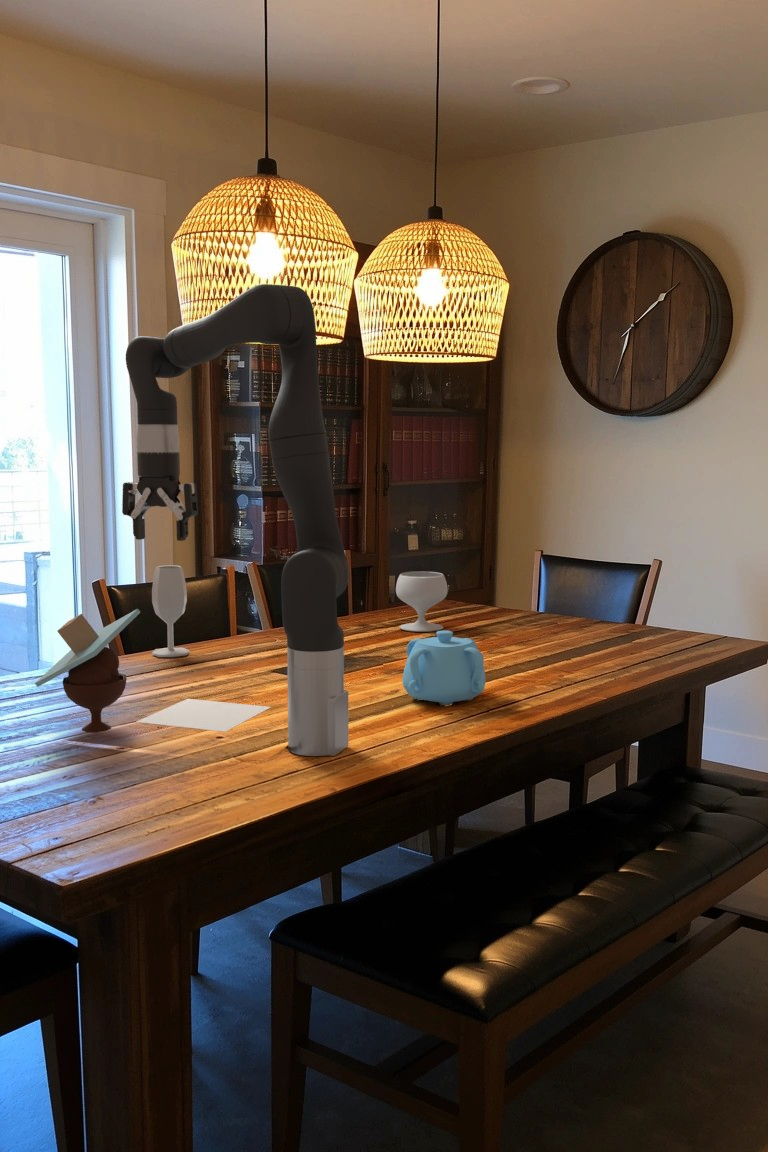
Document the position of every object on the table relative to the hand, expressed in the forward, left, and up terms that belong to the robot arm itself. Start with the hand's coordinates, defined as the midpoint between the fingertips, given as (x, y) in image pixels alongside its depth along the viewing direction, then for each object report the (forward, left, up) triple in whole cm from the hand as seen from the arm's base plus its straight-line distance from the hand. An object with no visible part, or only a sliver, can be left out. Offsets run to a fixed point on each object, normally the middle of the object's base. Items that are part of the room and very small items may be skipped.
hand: (160, 539), depth 190 cm
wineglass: (+28, -47, -33) cm, 64 cm away
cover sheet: (+5, +15, -18) cm, 24 cm away
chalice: (-17, -101, -33) cm, 108 cm away
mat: (-8, 0, -32) cm, 34 cm away
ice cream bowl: (+5, +15, -33) cm, 36 cm away
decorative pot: (-45, -29, -33) cm, 63 cm away
